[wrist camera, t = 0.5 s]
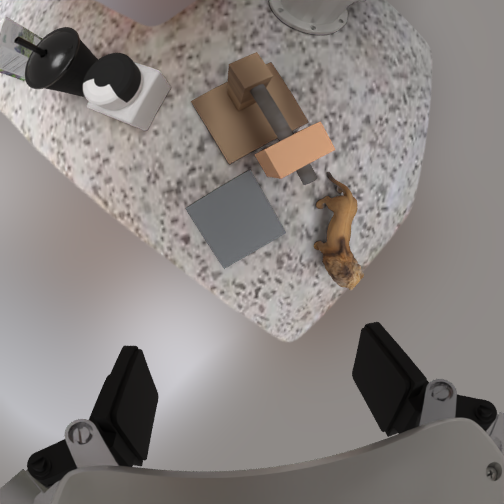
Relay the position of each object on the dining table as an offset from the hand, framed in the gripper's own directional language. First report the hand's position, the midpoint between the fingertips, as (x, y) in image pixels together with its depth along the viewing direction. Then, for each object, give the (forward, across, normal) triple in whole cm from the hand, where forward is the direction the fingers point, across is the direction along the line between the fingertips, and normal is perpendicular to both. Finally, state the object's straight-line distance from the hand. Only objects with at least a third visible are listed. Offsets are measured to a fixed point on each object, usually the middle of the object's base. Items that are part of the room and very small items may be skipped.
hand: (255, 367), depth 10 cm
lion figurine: (+28, -14, +1) cm, 32 cm away
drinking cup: (+29, +19, -23) cm, 41 cm away
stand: (+28, -4, -13) cm, 31 cm away
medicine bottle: (+29, +12, -19) cm, 36 cm away
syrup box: (+29, +33, -33) cm, 55 cm away
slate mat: (+28, 0, 0) cm, 28 cm away
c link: (+24, -6, -9) cm, 26 cm away
